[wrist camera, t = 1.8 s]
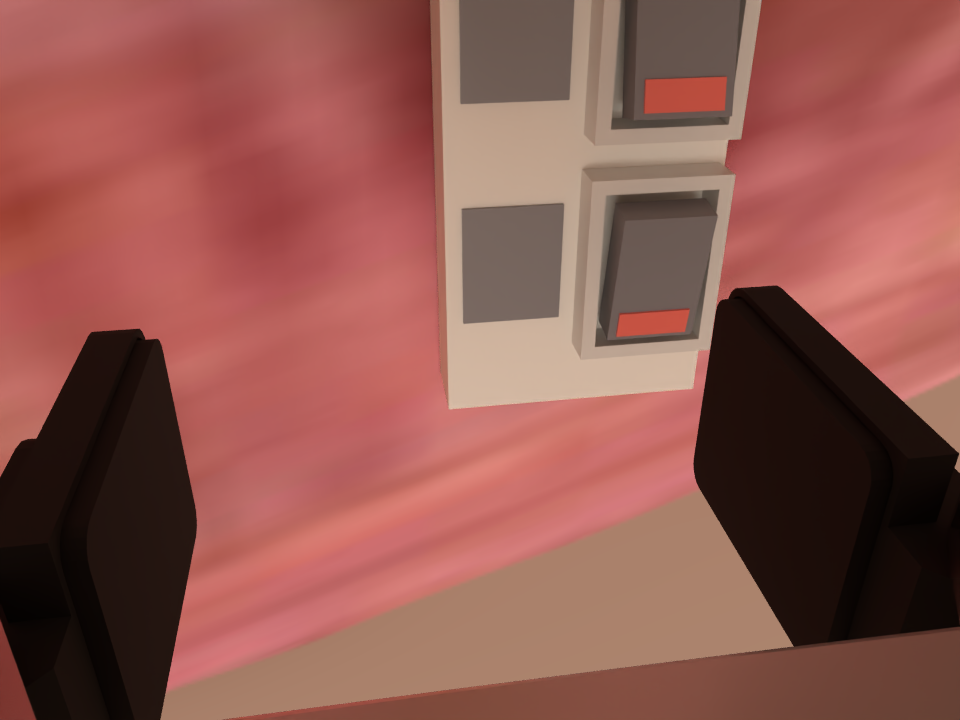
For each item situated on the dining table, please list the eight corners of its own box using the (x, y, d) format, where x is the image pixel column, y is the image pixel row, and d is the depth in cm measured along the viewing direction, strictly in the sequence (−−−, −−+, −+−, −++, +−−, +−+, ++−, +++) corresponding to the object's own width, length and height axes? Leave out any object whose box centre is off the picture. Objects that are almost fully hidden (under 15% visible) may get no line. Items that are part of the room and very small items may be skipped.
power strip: (414, -554, 23) (432, -637, 19) (776, -532, 24) (860, -605, 20) (440, 370, 37) (453, 429, 33) (668, 353, 38) (705, 407, 34)
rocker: (615, 202, 29) (626, 222, 28) (705, 197, 30) (718, 216, 29) (598, 320, 33) (607, 341, 32) (680, 314, 33) (691, 335, 32)
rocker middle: (627, -54, 26) (640, -59, 25) (727, -55, 27) (745, -60, 26) (622, 117, 28) (634, 120, 27) (716, 113, 28) (733, 116, 27)
